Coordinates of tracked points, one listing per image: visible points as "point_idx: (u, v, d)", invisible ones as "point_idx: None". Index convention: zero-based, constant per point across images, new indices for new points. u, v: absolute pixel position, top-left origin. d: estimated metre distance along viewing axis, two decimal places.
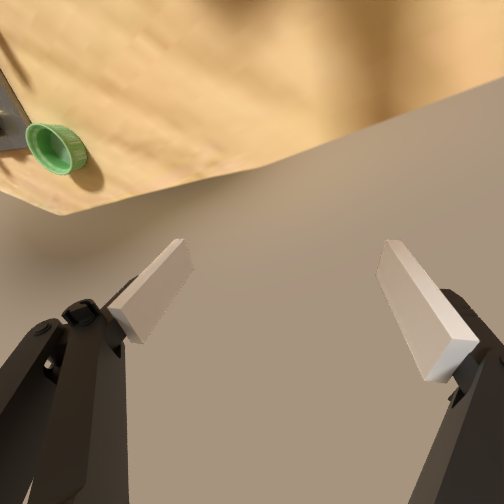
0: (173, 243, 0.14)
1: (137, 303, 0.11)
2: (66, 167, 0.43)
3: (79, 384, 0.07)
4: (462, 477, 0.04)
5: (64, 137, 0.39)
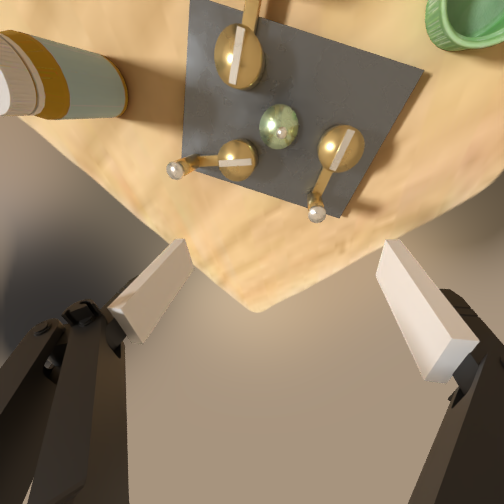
0: (173, 243, 0.14)
1: (137, 303, 0.11)
2: None
3: (79, 384, 0.07)
4: (462, 477, 0.04)
5: None
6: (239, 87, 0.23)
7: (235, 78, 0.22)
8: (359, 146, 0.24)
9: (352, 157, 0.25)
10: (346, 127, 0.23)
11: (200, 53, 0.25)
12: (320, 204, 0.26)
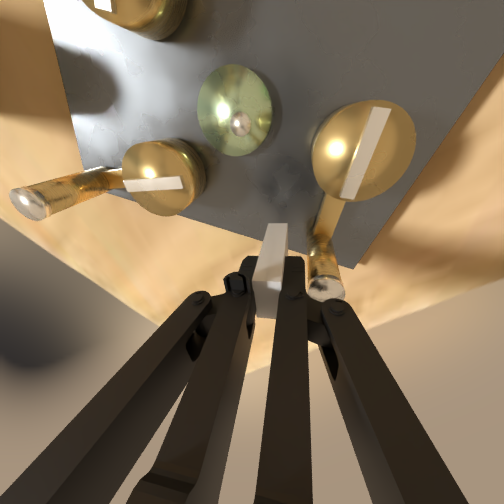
0: (270, 227, 0.15)
1: None
2: None
3: (218, 356, 0.07)
4: (275, 385, 0.06)
5: None
6: (125, 20, 0.10)
7: None
8: (403, 142, 0.11)
9: (388, 167, 0.11)
10: (368, 104, 0.10)
11: None
12: (330, 269, 0.13)
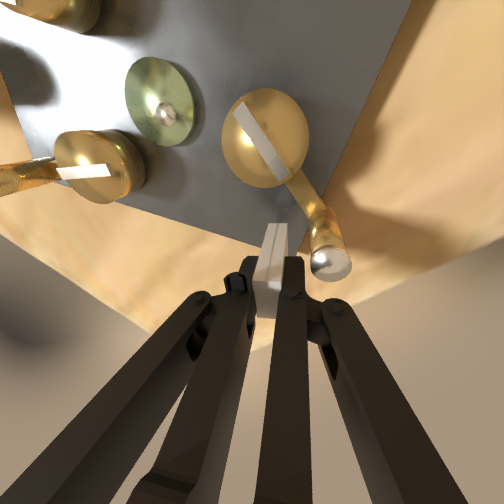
0: (270, 227, 0.15)
1: None
2: None
3: (218, 356, 0.07)
4: (275, 385, 0.06)
5: None
6: (32, 13, 0.11)
7: None
8: (278, 104, 0.11)
9: (290, 129, 0.11)
10: (230, 114, 0.11)
11: None
12: (320, 242, 0.12)
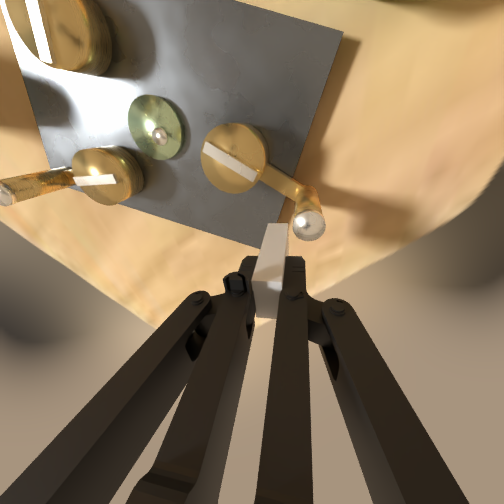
0: (269, 227, 0.15)
1: None
2: None
3: (217, 356, 0.07)
4: (276, 385, 0.06)
5: None
6: (63, 67, 0.15)
7: (47, 52, 0.14)
8: (229, 131, 0.15)
9: (243, 143, 0.15)
10: (202, 152, 0.16)
11: None
12: (296, 212, 0.15)
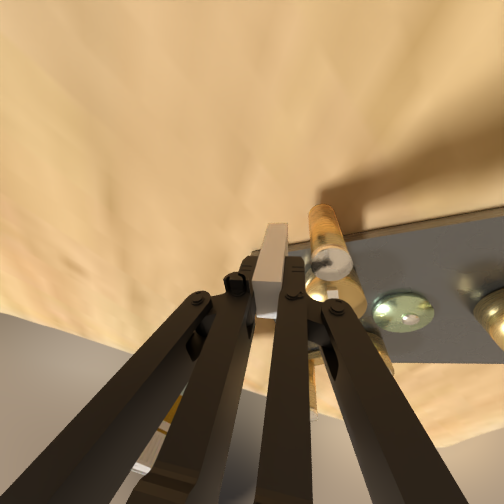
0: (270, 227, 0.15)
1: None
2: None
3: (218, 356, 0.07)
4: (275, 386, 0.06)
5: None
6: None
7: None
8: None
9: None
10: (502, 339, 0.16)
11: None
12: None
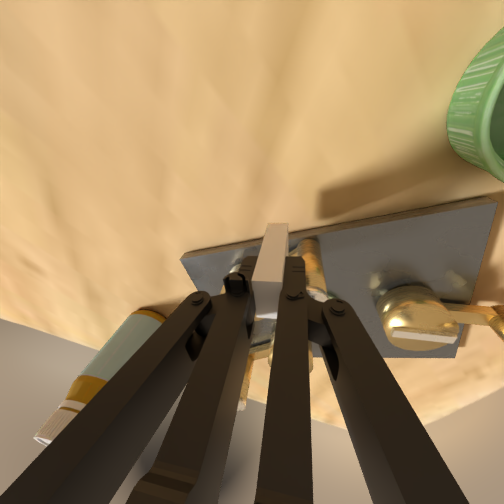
0: (269, 227, 0.15)
1: None
2: None
3: (217, 356, 0.07)
4: (276, 386, 0.06)
5: None
6: None
7: None
8: (415, 317, 0.16)
9: (432, 320, 0.16)
10: (388, 333, 0.18)
11: (209, 287, 0.24)
12: None
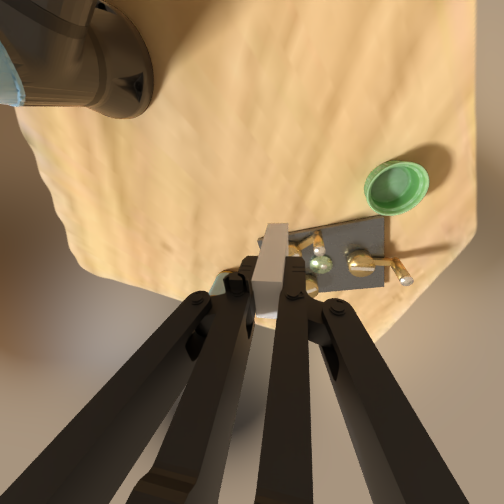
0: (269, 227, 0.15)
1: None
2: (414, 186, 0.36)
3: (217, 356, 0.07)
4: (276, 385, 0.06)
5: (382, 168, 0.34)
6: None
7: None
8: (358, 260, 0.43)
9: (365, 261, 0.42)
10: (349, 269, 0.44)
11: None
12: (398, 277, 0.40)
